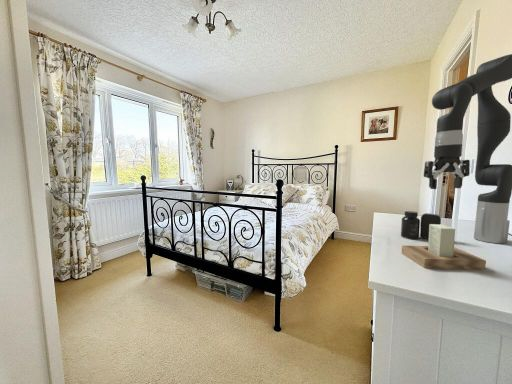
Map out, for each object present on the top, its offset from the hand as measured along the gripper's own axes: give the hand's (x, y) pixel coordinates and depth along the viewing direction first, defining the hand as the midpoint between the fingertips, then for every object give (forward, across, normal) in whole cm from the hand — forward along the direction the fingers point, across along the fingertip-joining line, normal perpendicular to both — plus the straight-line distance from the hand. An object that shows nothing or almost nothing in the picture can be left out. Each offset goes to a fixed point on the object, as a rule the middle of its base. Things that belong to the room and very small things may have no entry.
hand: (445, 188), depth 79 cm
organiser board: (+24, +8, +10) cm, 27 cm away
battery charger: (+25, -7, -15) cm, 30 cm away
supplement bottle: (+25, +1, -16) cm, 30 cm away
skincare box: (+24, +8, +10) cm, 27 cm away
